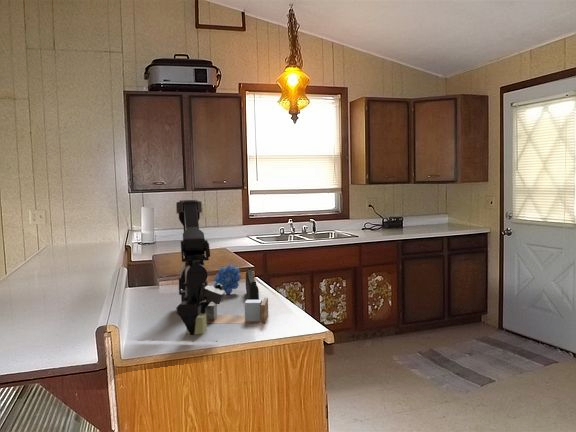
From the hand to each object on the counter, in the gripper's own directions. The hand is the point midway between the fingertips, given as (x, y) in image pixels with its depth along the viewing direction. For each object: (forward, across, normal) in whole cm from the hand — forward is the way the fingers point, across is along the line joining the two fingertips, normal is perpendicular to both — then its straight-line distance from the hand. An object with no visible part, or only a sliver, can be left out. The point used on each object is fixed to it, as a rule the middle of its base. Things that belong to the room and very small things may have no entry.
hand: (196, 329), depth 140 cm
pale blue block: (0, +12, -15) cm, 20 cm away
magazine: (+2, +39, -10) cm, 40 cm away
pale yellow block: (+2, 0, 0) cm, 2 cm away
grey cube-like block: (0, +12, 0) cm, 13 cm away
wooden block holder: (+2, +12, -8) cm, 15 cm away
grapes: (+2, +51, +2) cm, 51 cm away
